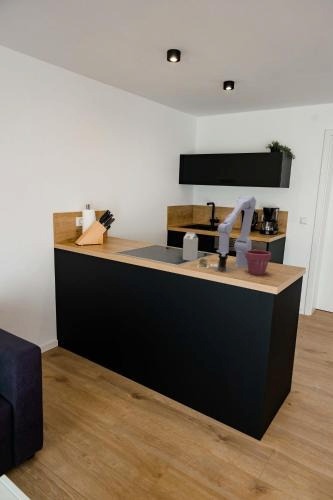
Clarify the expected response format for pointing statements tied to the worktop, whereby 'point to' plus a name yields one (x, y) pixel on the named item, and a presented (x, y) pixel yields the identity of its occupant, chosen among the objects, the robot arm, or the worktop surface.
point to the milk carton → (190, 246)
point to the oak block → (203, 262)
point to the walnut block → (221, 267)
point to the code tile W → (214, 265)
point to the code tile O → (204, 267)
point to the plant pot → (257, 261)
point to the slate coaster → (222, 270)
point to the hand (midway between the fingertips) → (222, 265)
